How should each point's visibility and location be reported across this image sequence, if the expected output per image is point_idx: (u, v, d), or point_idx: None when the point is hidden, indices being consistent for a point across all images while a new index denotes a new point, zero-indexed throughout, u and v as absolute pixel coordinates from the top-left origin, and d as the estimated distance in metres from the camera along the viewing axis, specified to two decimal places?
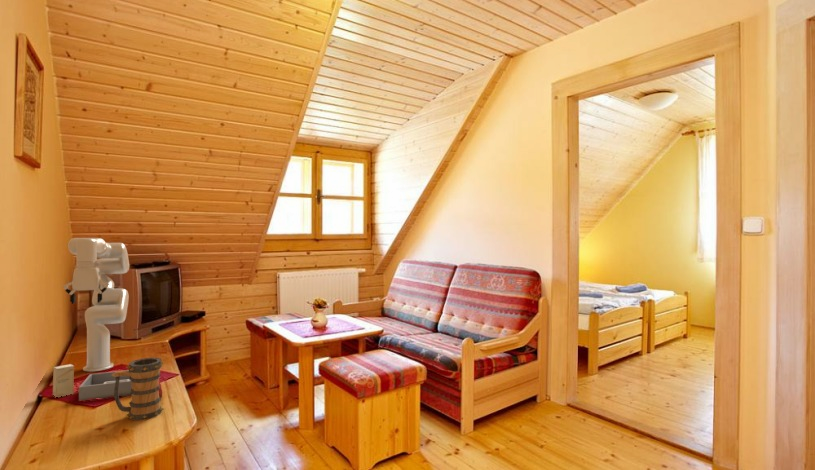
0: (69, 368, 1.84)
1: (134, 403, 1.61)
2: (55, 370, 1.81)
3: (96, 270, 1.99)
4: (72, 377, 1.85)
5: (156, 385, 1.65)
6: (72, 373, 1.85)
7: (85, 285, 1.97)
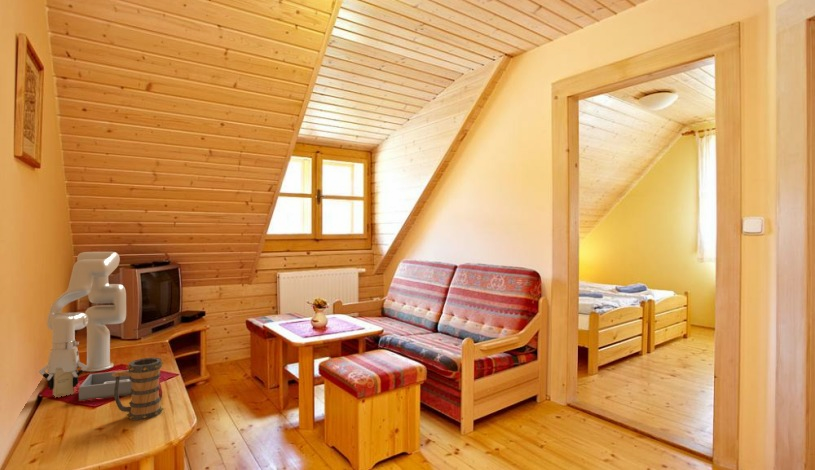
0: None
1: (134, 403, 1.61)
2: None
3: (74, 350, 1.84)
4: (72, 377, 1.85)
5: (156, 385, 1.65)
6: None
7: (62, 367, 1.82)
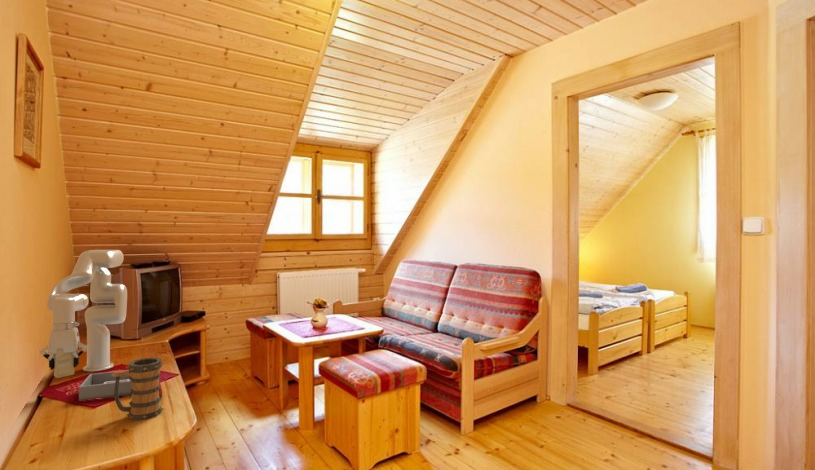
0: None
1: (134, 403, 1.61)
2: (56, 350, 1.82)
3: (74, 331, 1.85)
4: (73, 358, 1.86)
5: (156, 385, 1.65)
6: None
7: (62, 348, 1.83)
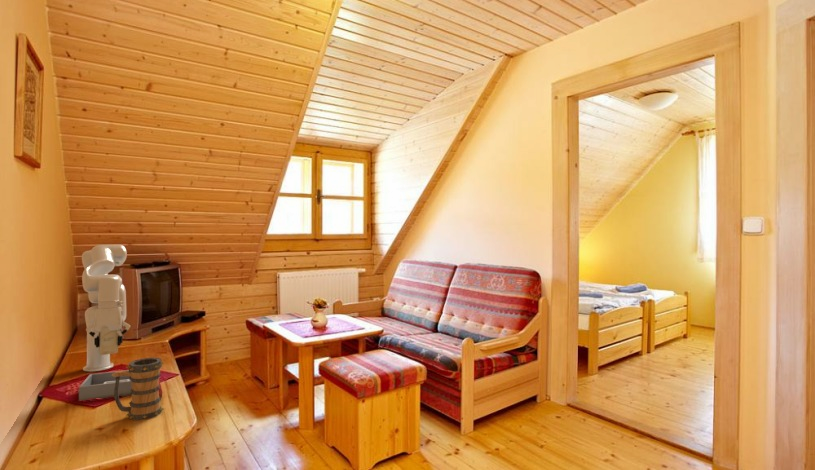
0: None
1: (134, 403, 1.61)
2: (101, 328, 1.86)
3: (119, 310, 1.89)
4: (117, 336, 1.89)
5: (156, 385, 1.65)
6: None
7: None
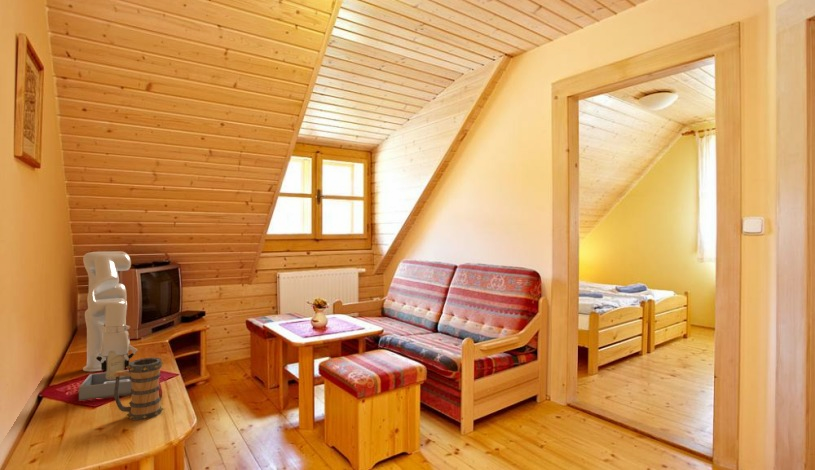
0: None
1: (134, 403, 1.61)
2: (108, 353, 1.86)
3: (125, 334, 1.89)
4: (124, 360, 1.90)
5: (156, 385, 1.65)
6: None
7: (114, 350, 1.87)
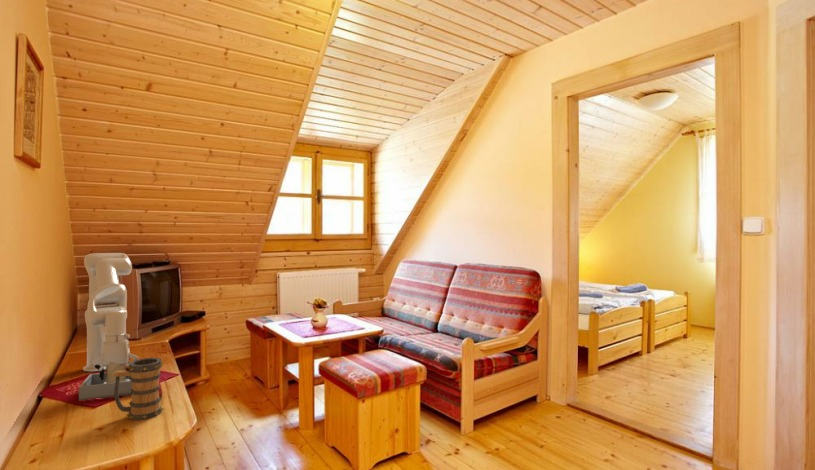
0: None
1: (134, 403, 1.61)
2: None
3: (125, 343, 1.89)
4: None
5: (156, 385, 1.65)
6: (124, 367, 1.90)
7: (114, 359, 1.87)
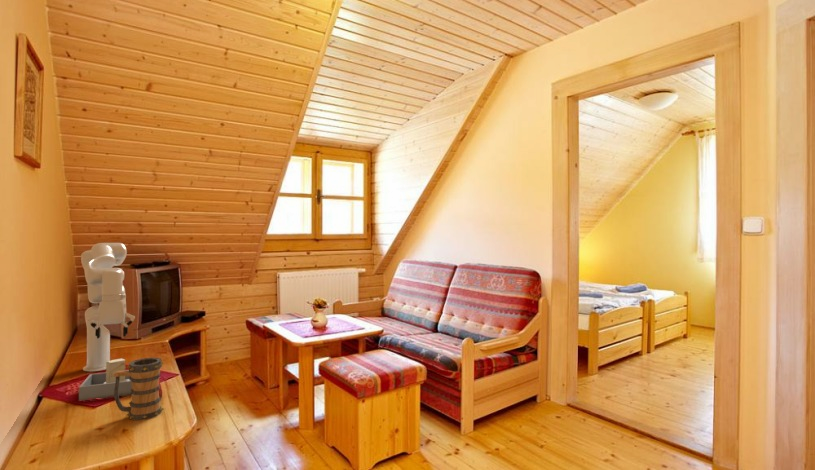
0: (121, 362, 1.89)
1: (134, 403, 1.61)
2: (108, 364, 1.87)
3: (122, 303, 1.91)
4: None
5: (156, 385, 1.65)
6: (124, 367, 1.90)
7: (111, 318, 1.89)
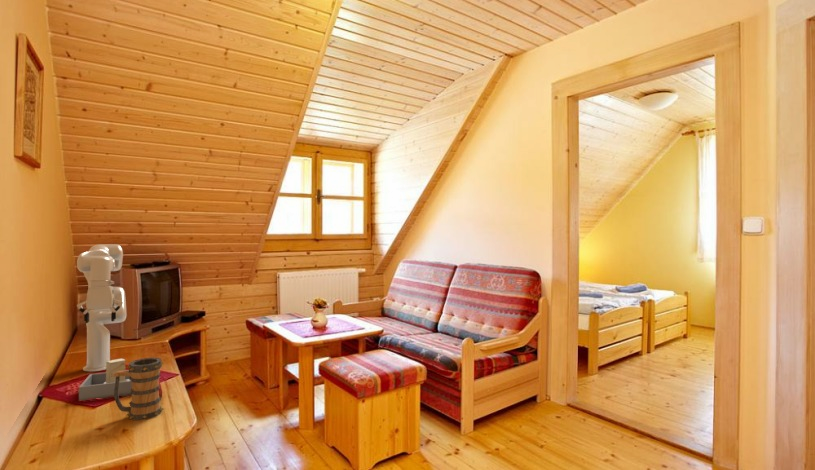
0: (121, 362, 1.89)
1: (134, 403, 1.61)
2: (108, 364, 1.87)
3: (110, 289, 1.98)
4: None
5: (156, 385, 1.65)
6: (124, 367, 1.90)
7: (99, 304, 1.96)
